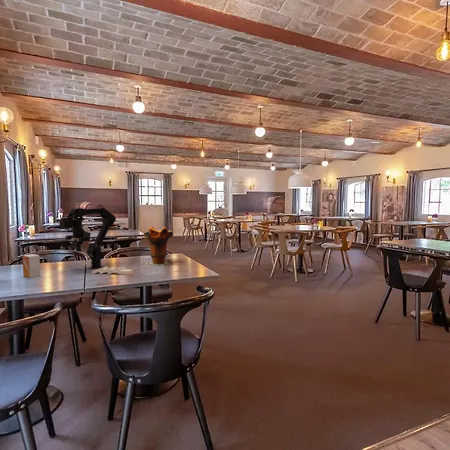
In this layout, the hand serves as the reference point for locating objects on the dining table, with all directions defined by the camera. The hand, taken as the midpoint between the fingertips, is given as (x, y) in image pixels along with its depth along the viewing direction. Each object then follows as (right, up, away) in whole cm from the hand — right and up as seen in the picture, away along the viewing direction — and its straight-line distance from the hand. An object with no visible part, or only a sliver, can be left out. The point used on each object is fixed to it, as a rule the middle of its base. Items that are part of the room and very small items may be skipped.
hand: (78, 251), depth 206 cm
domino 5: (+30, -14, -7) cm, 34 cm away
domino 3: (+22, -13, -5) cm, 26 cm away
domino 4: (+29, -12, -7) cm, 32 cm away
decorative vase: (+47, -11, +27) cm, 55 cm away
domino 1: (+12, -13, -4) cm, 18 cm away
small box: (-22, -14, -13) cm, 29 cm away
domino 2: (+17, -13, -5) cm, 22 cm away
